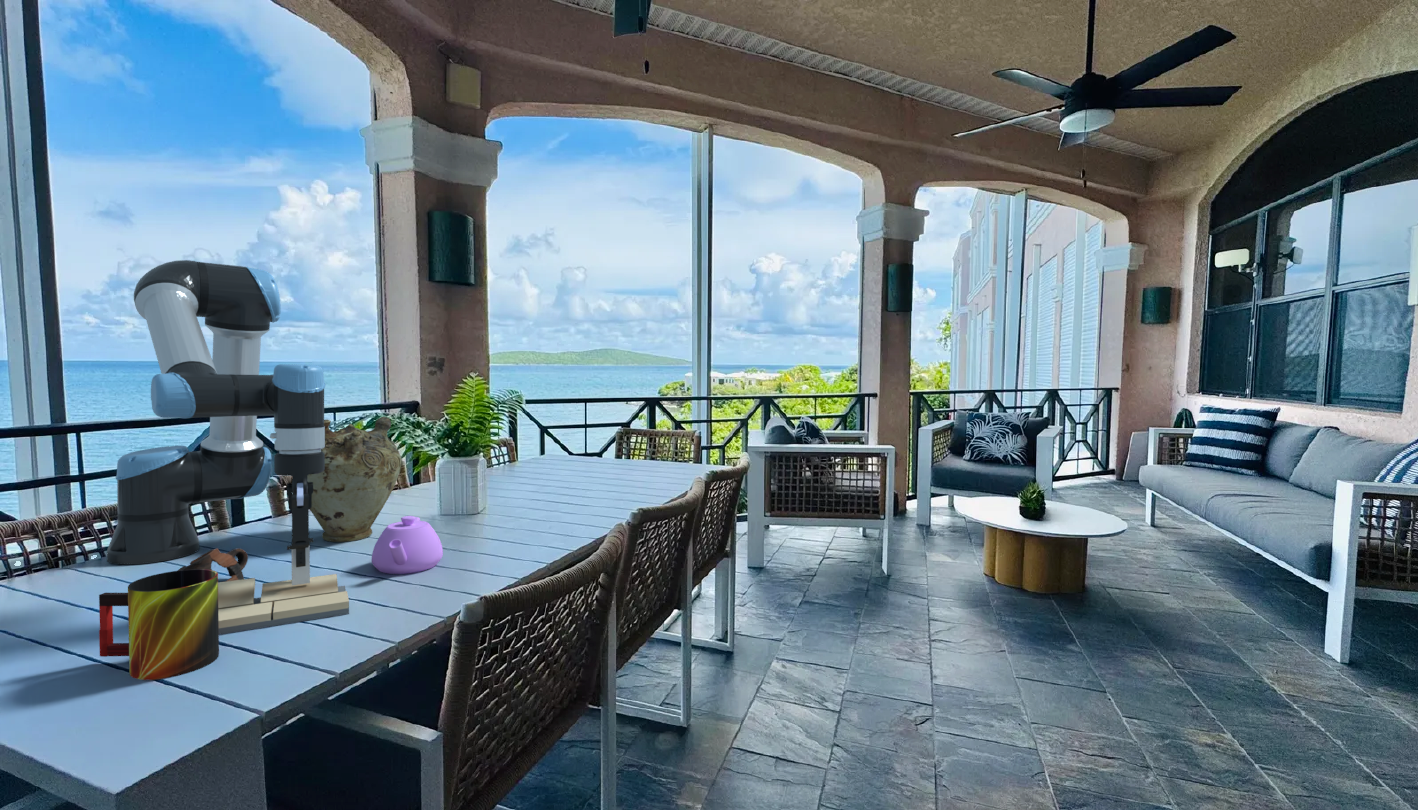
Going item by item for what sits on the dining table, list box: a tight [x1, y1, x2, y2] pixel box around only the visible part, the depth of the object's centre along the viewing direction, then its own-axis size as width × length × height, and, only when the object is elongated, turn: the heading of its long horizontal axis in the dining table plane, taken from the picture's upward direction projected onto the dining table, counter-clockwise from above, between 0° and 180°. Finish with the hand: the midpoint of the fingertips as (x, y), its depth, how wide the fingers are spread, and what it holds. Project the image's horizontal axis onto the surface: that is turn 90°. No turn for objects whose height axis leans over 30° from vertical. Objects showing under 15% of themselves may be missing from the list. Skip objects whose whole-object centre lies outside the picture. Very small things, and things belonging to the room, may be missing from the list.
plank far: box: [260, 573, 339, 607], centre depth 112 cm, size 6×11×1 cm, turn 122°
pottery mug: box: [177, 547, 249, 582], centre depth 120 cm, size 12×10×8 cm
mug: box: [98, 569, 220, 681], centre depth 87 cm, size 10×14×12 cm
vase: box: [307, 416, 402, 543], centre depth 155 cm, size 23×23×30 cm
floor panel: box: [218, 585, 350, 636], centre depth 106 cm, size 13×26×2 cm, turn 123°
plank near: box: [218, 577, 256, 610], centre depth 105 cm, size 6×11×1 cm, turn 122°
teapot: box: [371, 515, 444, 575], centre depth 134 cm, size 14×20×11 cm
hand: (300, 581), depth 113 cm, fingers closed
